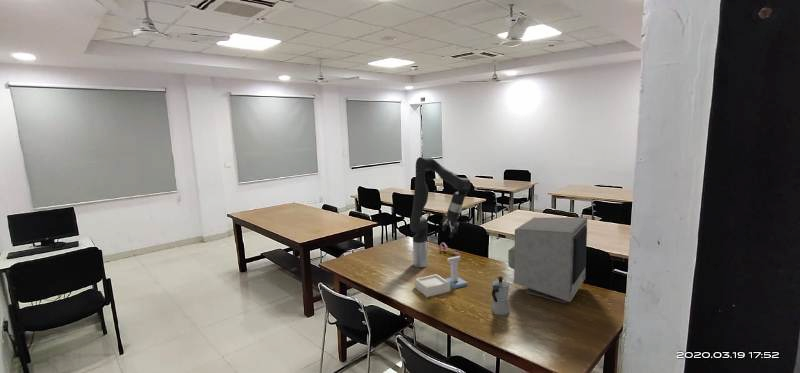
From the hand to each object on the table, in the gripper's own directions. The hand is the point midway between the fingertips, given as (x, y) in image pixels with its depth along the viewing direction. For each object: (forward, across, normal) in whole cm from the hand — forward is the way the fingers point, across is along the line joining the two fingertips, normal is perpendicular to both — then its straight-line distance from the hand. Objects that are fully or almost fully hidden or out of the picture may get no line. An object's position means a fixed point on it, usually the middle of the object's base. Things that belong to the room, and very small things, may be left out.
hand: (446, 234), depth 226 cm
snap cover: (+25, +16, +4) cm, 30 cm away
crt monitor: (+9, +48, +39) cm, 63 cm away
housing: (+28, +16, -11) cm, 34 cm away
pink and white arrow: (+30, -30, +34) cm, 54 cm away
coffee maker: (+16, +55, +2) cm, 57 cm away
